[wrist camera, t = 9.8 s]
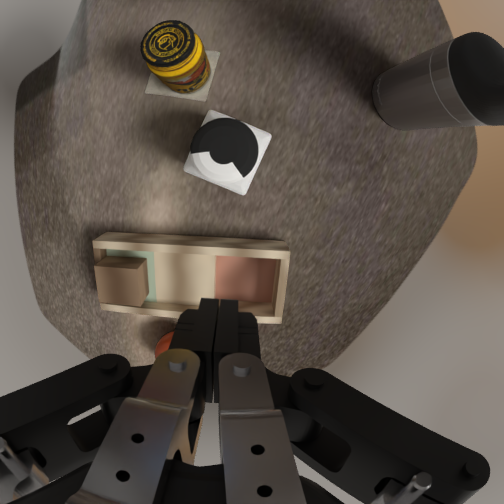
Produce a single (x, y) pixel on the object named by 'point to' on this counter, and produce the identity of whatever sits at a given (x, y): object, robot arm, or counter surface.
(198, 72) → the condiment
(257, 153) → the medicine bottle
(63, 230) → the counter surface
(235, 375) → the robot arm
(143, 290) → the walnut block
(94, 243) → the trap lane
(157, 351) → the tomato
